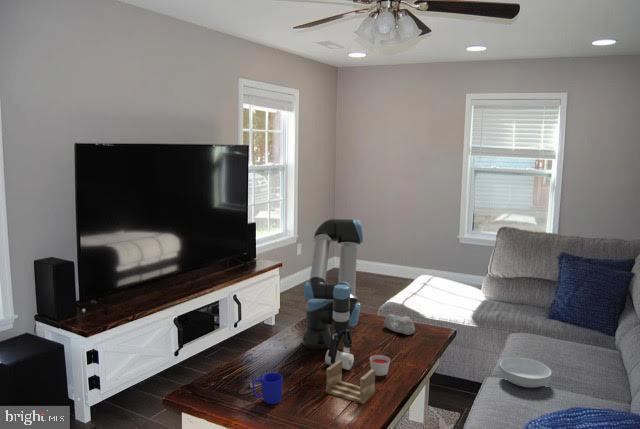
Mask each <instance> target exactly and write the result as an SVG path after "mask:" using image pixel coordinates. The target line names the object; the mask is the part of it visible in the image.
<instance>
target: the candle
mask: <svg viewBox="0 0 640 429" xmlns="http://www.w3.org/2000/svg"><path fill="white" fill-rule="evenodd" d="M369 362H370V370H371V369H373V370H375V376H378V377H383V376H386V375H387V374H388V372H389V367H390V362H391V358H390V357H388V356H385V355H382V354H375V355H372V356H370V357H369Z"/></svg>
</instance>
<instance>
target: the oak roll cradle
mask: <svg viewBox="0 0 640 429" xmlns="http://www.w3.org/2000/svg"><path fill="white" fill-rule="evenodd" d="M342 377H343V368H342V361H340V360H338V361H337V362H336V363H334V364H333V365H329V366H328V367H327V368H326V378H325V379H326V380H325V381H326V387H325V388H326V391H325V392H326V393H327V394H330V395H333V396H336V397H340V398H342V399H343V398H344V399H346V400H349V401H353V402H356V403H360V404H362V405H364V404H365V403H366V402H367V401H368V400H369V399H370V398H371V397H373V395H375V385H376V384H375V383H376V375H375V370H373V369H371V368H370V370H369V371H367V372H366V373H365V374H364V375H363V376H361V377H360V380H359V382H360V383H359V384H360V385H356V384H353V383H350V382H346V381H343V380H342V379H343V378H342Z"/></svg>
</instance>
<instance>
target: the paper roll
mask: <svg viewBox="0 0 640 429" xmlns="http://www.w3.org/2000/svg"><path fill="white" fill-rule="evenodd" d="M328 352H329V349H327V351H326V353H325V355H324V356H325V357H324V362H325V364H326V365H328V366H331V357H329V356H328ZM336 357H337V361H338V360H340V361H342V370H343V369H344V370H347V371H349V370H351V369H352V367H353V365H354V360H355V359H354V358H355V357H354V355H353V354H352V353H350V352H349V353H345V352H344V351H339V350H338V351H337V354H336Z"/></svg>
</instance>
